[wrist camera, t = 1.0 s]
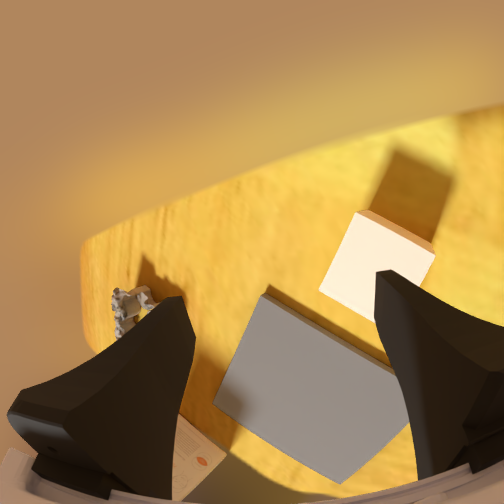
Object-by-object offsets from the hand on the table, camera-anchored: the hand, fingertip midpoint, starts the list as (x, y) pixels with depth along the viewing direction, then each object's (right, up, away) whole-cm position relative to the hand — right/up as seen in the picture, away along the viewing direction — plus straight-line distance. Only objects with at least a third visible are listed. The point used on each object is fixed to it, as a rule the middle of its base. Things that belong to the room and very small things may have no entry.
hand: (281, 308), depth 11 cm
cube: (+8, +2, +9) cm, 12 cm away
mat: (+4, -11, +14) cm, 18 cm away
